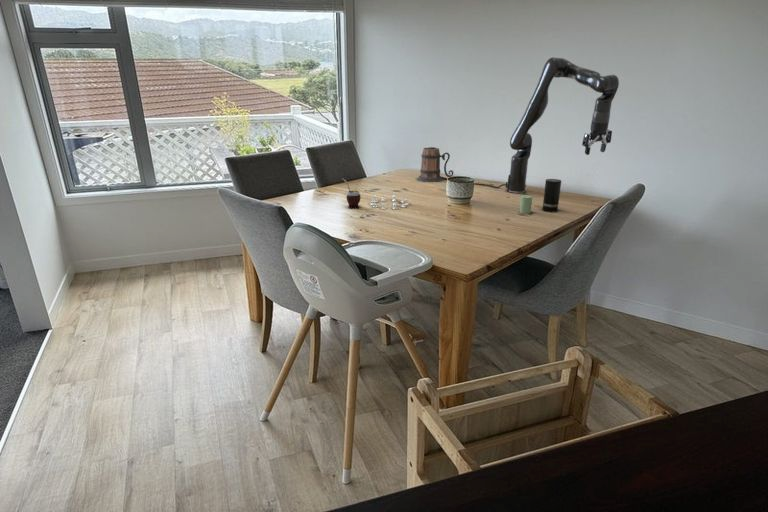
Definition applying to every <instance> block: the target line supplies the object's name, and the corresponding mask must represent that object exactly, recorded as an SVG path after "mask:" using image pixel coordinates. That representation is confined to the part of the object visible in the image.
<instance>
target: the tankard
mask: <svg viewBox="0 0 768 512" xmlns="http://www.w3.org/2000/svg"><path fill="white" fill-rule="evenodd" d="M446 155H447V159H446V158H445V157H446ZM450 157H451V155H450V153H449V152H444V153H442V155H441V154H440V148H438V147H434V146H429V147H423V148H422V152H421V161H420V162H421V163H420V170H419V171H420V173H419V175H418V177H417V178H416V180H417V181H418V182H425V183H438V182H439V183H440V182H442V181H444V179H443V178H442V177H443V176H441V159H442V160H443V161H445V162H444V165H443V171H444V175H445V176H446V178H451V177H453V175H454V170H453V169H451V170H448V172H447V164H448V162H449V161H450Z"/></svg>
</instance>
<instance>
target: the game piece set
mask: <svg viewBox="0 0 768 512" xmlns="http://www.w3.org/2000/svg"><path fill="white" fill-rule="evenodd" d="M396 197H397V195H396V194H394V193H393V195H392V200H391V201H392V202H394V203H392V205H393V207H392V209H393V210H398V207H397V203H396V202H397V199H396ZM380 201H381V202H386V199H384V194H382V197H381V200H380ZM370 202H371V203H369V206H372V208H378V205H377V203H378V202H379V201H378V199H377V195H376V194H375V195H374V199H373V198H371V201H370ZM400 203H402V205H401V206H400V208H407V206H409V205H410V204H409V199H408V198H405V199H403V200H401V201H400ZM381 210H386V205H385V204H384V203H382V205H381Z"/></svg>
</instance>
